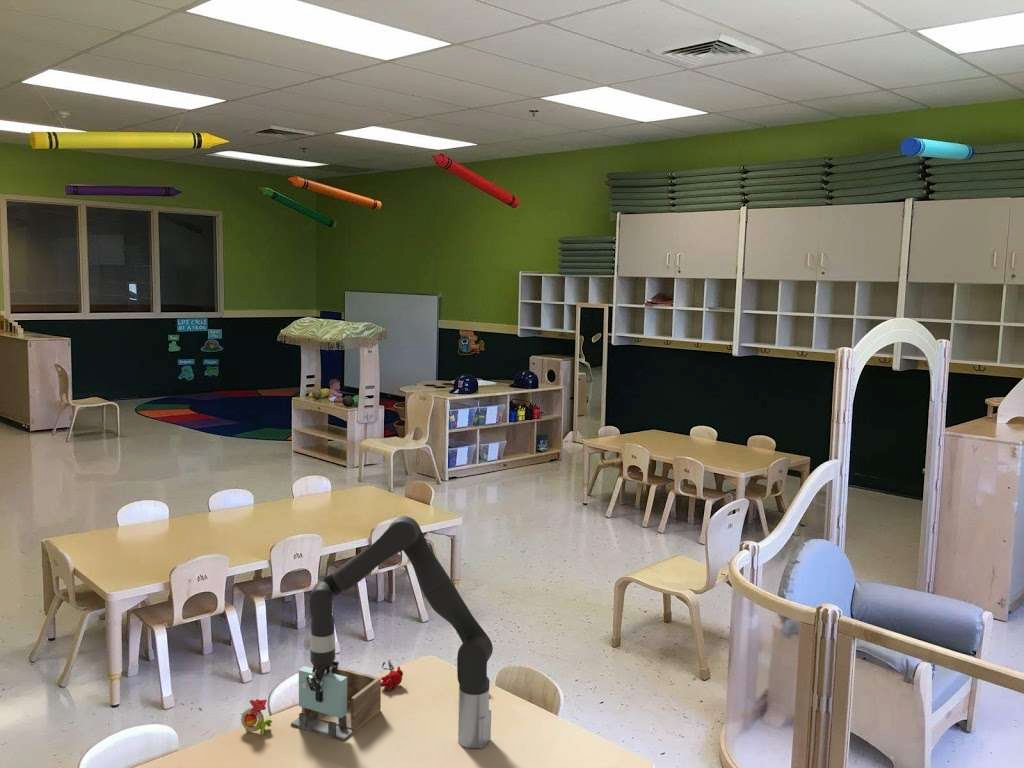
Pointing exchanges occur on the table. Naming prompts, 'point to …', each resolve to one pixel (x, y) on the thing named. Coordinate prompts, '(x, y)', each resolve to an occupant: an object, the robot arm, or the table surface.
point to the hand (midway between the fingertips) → (322, 698)
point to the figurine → (391, 677)
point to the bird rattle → (255, 717)
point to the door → (324, 693)
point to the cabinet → (359, 708)
